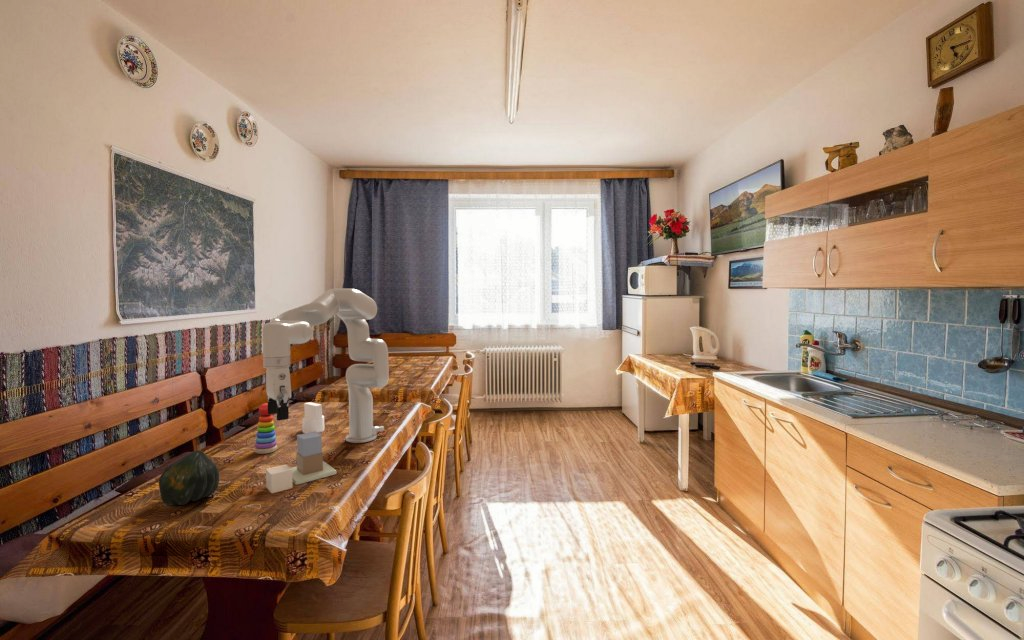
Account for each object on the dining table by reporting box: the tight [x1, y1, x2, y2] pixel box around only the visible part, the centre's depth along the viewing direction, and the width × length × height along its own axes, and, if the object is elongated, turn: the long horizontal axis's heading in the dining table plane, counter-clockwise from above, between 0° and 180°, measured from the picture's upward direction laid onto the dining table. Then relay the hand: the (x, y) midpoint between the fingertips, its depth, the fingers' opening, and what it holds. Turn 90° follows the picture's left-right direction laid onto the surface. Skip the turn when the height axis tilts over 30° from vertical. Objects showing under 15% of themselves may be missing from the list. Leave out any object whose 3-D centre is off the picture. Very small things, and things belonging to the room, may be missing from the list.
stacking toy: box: [253, 402, 278, 455], centre depth 175 cm, size 8×8×19 cm
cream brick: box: [265, 463, 294, 494], centre depth 143 cm, size 6×6×6 cm
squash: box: [158, 449, 220, 507], centre depth 135 cm, size 14×15×15 cm
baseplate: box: [290, 452, 337, 486], centre depth 154 cm, size 13×13×7 cm
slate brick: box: [296, 432, 323, 457], centre depth 154 cm, size 6×6×6 cm
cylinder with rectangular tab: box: [301, 401, 325, 434], centre depth 202 cm, size 9×9×12 cm
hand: (278, 416), depth 142 cm, fingers open, 9 cm apart
